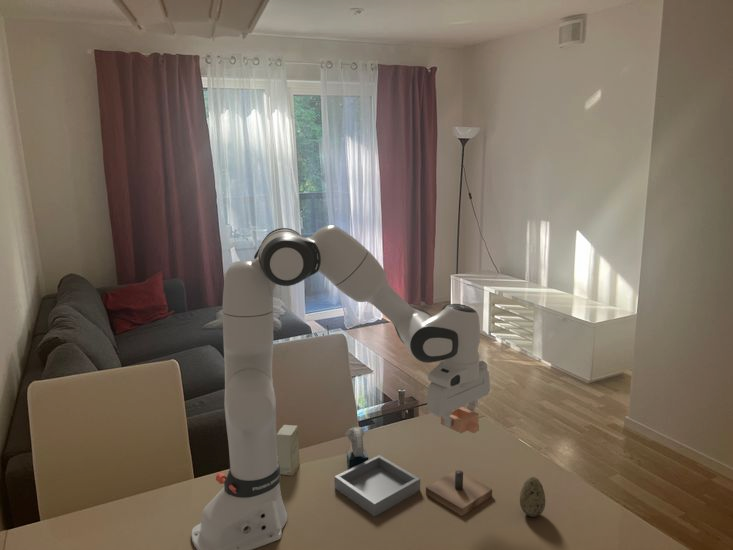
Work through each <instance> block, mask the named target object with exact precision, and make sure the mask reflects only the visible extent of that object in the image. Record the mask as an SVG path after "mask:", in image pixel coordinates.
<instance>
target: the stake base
mask: <svg viewBox="0 0 733 550" xmlns="http://www.w3.org/2000/svg"><path fill="white" fill-rule="evenodd" d="M425 495H427V496H428V497H429V498H432V499H433V500H435V501H436V502H438V503H439V504H441V505H442V506H444V507H446V508H448V509H450V511H453V512H454V513H456V514H458V515H459V516H461V517H462V516H464V515H466V514H468V513H469V512H471V511H472V510H474V509H475V508H476V507H478V506H479V505H481V504H482V503H484V502H485V501H487V500H488V499H490V498H491V497H493V488H492V487H489V486H487V485H485V484H484V483H481V482H479V481H478V480H476V479H474V478H473V477H470V476H469V475H466V474H465V473H464V471H462V470H460V469H459V470H458V469H455V470H453V471H452V472H450V473H448V474H446V475H444V476H443V477H441V478H439V479H438V480H436V481H435V482H433V483H430V484H429V485H427V486H426V487H425Z"/></svg>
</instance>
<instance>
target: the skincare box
mask: <svg viewBox="0 0 733 550" xmlns="http://www.w3.org/2000/svg"><path fill="white" fill-rule="evenodd" d="M298 429H299V426H298V425H296V424H295V425H293V424H292V425H291V424H283V425H282V426H281V427H280V429H279V430H278V431H277V432H276V441H277V459H278V462H279V465H280V475H284V476H285V475H286V476H294V474H295V473H296V471H297V470H298V468H299V466H300V464H301V463H300V462H301V461H300V445H299V430H298Z"/></svg>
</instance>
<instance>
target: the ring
mask: <svg viewBox="0 0 733 550" xmlns="http://www.w3.org/2000/svg"><path fill="white" fill-rule="evenodd" d="M479 416H480V414H479V413H478V412H476V411H474V412H473V411H471V410H468V409H467V408H466V407H465V406H463V407H460V408H458V409H456V410H454V411H452V412H451V415H450V418H451V419H453V420H454V423H453V424H454V425H453V426H451V427H449V429H450V430H453V431H455V432H457V433H459V434H463V433H465V432H467V431H468V432H470V433H472V434H475V433H477V432H479V431H480V425H479ZM440 424H441V425H442V426H444V427H446V426H445V425H444V418H443V416H441V417H440Z"/></svg>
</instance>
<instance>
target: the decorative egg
mask: <svg viewBox="0 0 733 550" xmlns="http://www.w3.org/2000/svg"><path fill="white" fill-rule="evenodd" d="M543 487H544V486H543V485H542V483H541V481H540V480H539V479H538V478H537V477H536V476H531V477H529V478H527V480H525V482H524V484H523V485H522V488H521V491H520V494H519V506H520V508H521V510H522V512H523V513H524V514H526V516H529V517H532V518H536V517H538V516H541V515H542V513H543V512H544V511H545V507H546V495H545V491H544V488H543Z"/></svg>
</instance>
